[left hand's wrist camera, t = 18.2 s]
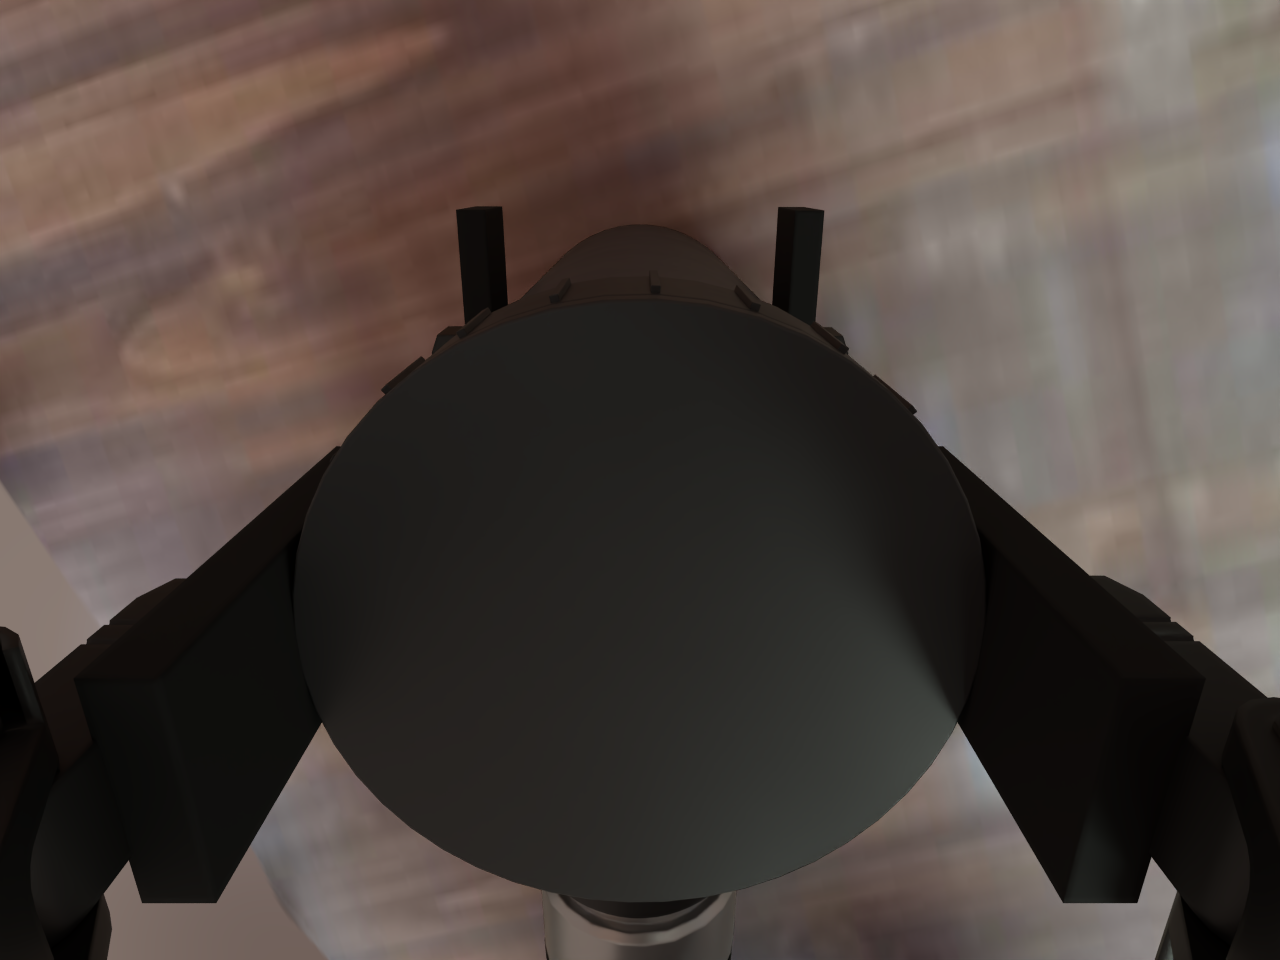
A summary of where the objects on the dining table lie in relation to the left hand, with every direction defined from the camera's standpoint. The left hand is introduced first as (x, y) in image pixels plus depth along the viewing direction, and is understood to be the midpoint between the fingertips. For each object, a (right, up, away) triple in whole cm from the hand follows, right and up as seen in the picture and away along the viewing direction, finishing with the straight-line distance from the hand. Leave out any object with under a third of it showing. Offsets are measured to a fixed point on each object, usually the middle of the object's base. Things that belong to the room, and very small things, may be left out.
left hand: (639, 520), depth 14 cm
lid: (0, -1, -3) cm, 4 cm away
